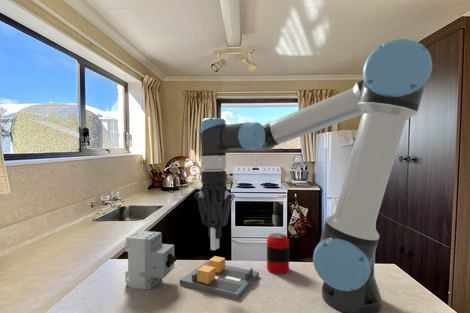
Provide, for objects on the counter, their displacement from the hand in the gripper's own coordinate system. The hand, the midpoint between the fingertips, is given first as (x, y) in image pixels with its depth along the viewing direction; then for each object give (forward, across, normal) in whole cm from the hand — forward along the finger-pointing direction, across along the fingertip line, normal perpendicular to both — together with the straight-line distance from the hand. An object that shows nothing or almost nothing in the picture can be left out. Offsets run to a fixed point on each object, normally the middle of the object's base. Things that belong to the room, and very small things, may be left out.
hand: (215, 248), depth 82 cm
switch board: (+12, +1, -5) cm, 13 cm away
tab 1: (+10, +3, 0) cm, 11 cm away
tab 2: (+10, +4, -8) cm, 14 cm away
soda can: (+12, -13, -21) cm, 28 cm away
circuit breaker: (+12, +19, +6) cm, 23 cm away
